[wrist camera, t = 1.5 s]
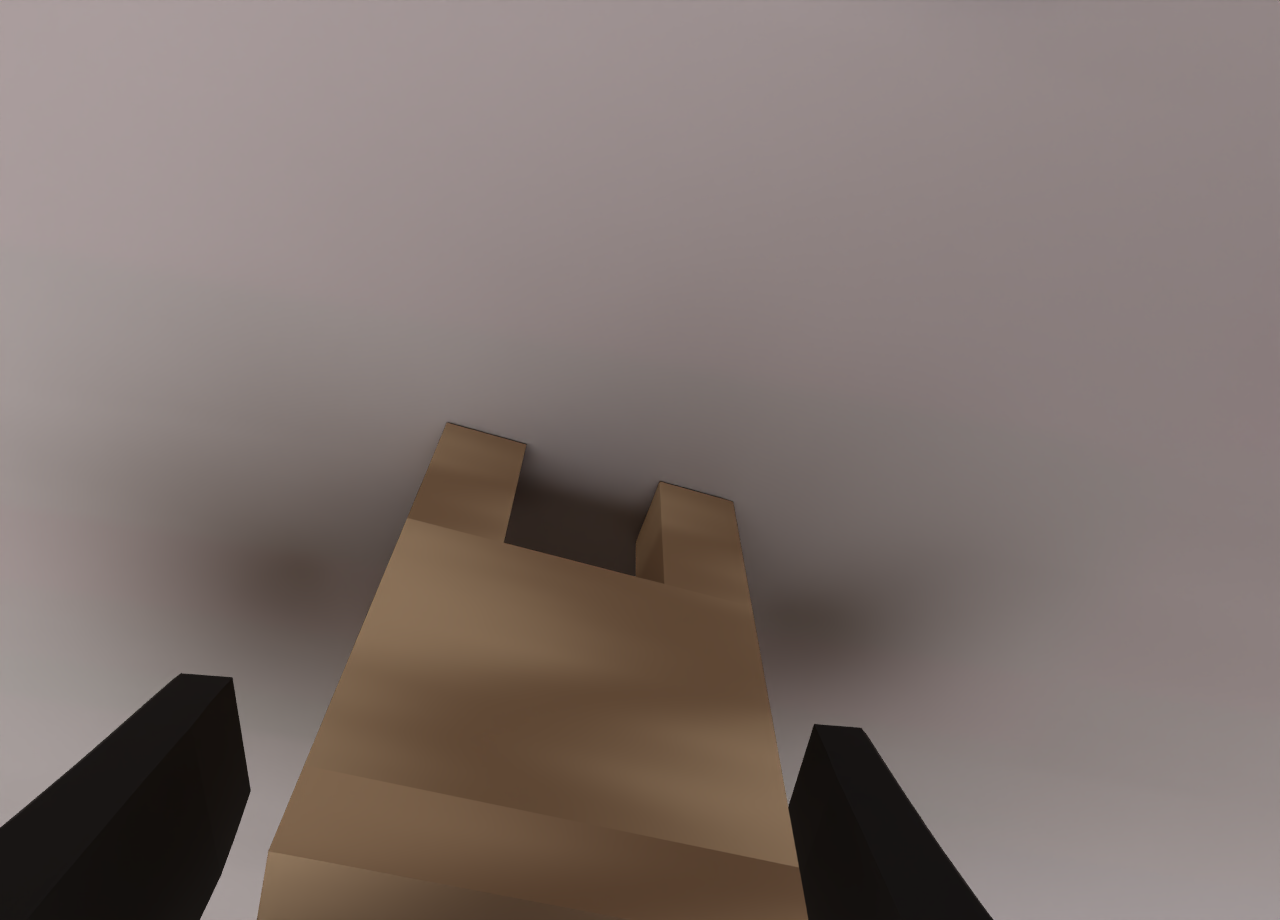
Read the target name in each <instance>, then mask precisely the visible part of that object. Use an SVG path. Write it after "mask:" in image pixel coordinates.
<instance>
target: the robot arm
mask: <svg viewBox="0 0 1280 920" xmlns="http://www.w3.org/2000/svg"><path fill="white" fill-rule="evenodd" d="M250 791H251V790H250V783H249V777H248V771H247V765H246V759H245V752H244V746H243V740H242V734H241V728H240V721H239V715H238V709H237V703H236V697H235V690H234V684H233V678H232V677H220V676H207V675H195V674H182V673H181V674H180V675H178V676H177V677H176V678H174V679H173V680H172V681H171V682H169V683H168V684H167V685H166V686H165V687H164V688H163V689H161V690H160V691H159V692H158V693H157V694H156V695H154V696H153V697H152V698H151V699H150V700H149V701H148V702H146V703H145V704H144V705H143V706H142V707H141V708H140V709H138V710H137V711H136V712H135V713H134V714H133V715H132V716H131V717H129V718H128V719H127V720H126V721H125V722H124V723H123V724H121V725H120V726H119V727H118V728H117V729H116V730H115V731H114V732H112V733H111V734H110V735H109V736H108V737H107V738H106V739H104V740H103V741H102V742H101V743H100V744H99V745H97V746H96V747H95V748H94V749H93V750H92V751H91V752H89V753H88V754H87V755H86V756H85V757H84V758H83V759H81V760H80V761H79V762H78V763H77V764H76V765H74V766H73V767H72V768H71V769H70V770H69V771H67V772H66V773H65V774H64V775H63V776H61V777H60V778H59V779H58V780H57V781H55V782H54V783H53V784H52V785H51V786H50V787H48V788H47V789H46V790H45V791H44V792H42V793H41V794H40V795H39V796H38V797H36V798H35V799H34V800H33V801H32V802H30V803H29V804H28V805H27V806H26V807H25V808H23V809H22V810H21V811H20V812H19V813H17V814H16V815H15V816H14V817H13V818H11V819H10V820H9V821H8V822H7V823H5V824H4V825H3V826H2V827H0V920H200V918H201V916H202V914H203V912H204V910H205V908H206V906H207V904H208V902H209V899H210V897H211V895H212V893H213V891H214V889H215V887H216V885H217V882H218V880H219V878H220V876H221V874H222V871H223V868H224V865H225V863H226V860H227V857H228V855H229V852H230V849H231V846H232V844H233V841H234V838H235V835H236V832H237V830H238V827H239V824H240V821H241V818H242V815H243V812H244V809H245V806H246V803H247V800H248V797H249V794H250ZM788 809H789V815H790V820H791V826H792V832H793V837H794V843H795V848H796V854H797V859H798V865H799V870H800V876H801V881H802V887H803V892H804V898H805V904H806V909H807V915H808V920H993V919H992V917H991V916H990V915H989V913H988V912H987V911H986V909H985V908H984V907H983V905H982V904H981V903H980V901H979V900H978V899H977V897H976V896H975V894H974V893H973V892H972V890H971V889H970V887H969V886H968V885H967V883H966V882H965V880H964V879H963V878H962V876H961V875H960V873H959V872H958V871H957V869H956V868H955V866H954V865H953V864H952V862H951V861H950V859H949V858H948V857H947V855H946V854H945V852H944V851H943V850H942V848H941V847H940V845H939V844H938V842H937V841H936V839H935V838H934V836H933V835H932V834H931V832H930V831H929V829H928V828H927V826H926V825H925V823H924V822H923V820H922V819H921V817H920V816H919V814H918V813H917V811H916V810H915V808H914V807H913V805H912V804H911V802H910V801H909V799H908V798H907V796H906V795H905V793H904V792H903V790H902V789H901V787H900V786H899V784H898V782H897V781H896V779H895V778H894V776H893V775H892V773H891V772H890V770H889V769H888V767H887V765H886V764H885V762H884V761H883V759H882V758H881V756H880V755H879V753H878V751H877V750H876V748H875V747H874V745H873V744H872V742H871V741H870V739H869V737H868V736H867V735H866V733H865V732H864V731H863V730H862V728H856V727H843V726H831V725H818V724H814V726H813V730H812V733H811V736H810V739H809V742H808V746H807V749H806V752H805V755H804V758H803V762H802V765H801V768H800V771H799V774H798V778H797V781H796V784H795V787H794V790H793V794H792V797H791V800H790V803H789V807H788Z"/></svg>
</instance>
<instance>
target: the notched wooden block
mask: <svg viewBox="0 0 1280 920" xmlns="http://www.w3.org/2000/svg"><path fill="white" fill-rule="evenodd" d="M525 448H526V444H522V443H519V442H515V441H512V440H508V439H504V438H501V437H497V436H494V435H490V434H486V433H483V432H479V431H475V430H472V429H468V428H465V427H461V426H457V425H454V424H450V423H447V424H446V426H445V428H444V431H443V433H442V436H441V438H440V440H439V443H438V445H437V448H436V450H435V452H434V455H433V457H432V460H431V462H430V464H429V467H428V469H427V472H426V474H425V476H424V479H423V481H422V484H421V486H420V488H419V491H418V493H417V496H416V498H415V500H414V503H413V505H412V508H411V510H410V512H409V515H408V517H407V520H406V522H405V524H404V527H403V529H402V532H401V534H400V536H399V539H398V541H397V544H396V546H395V548H394V551H393V553H392V556H391V558H390V560H389V563H388V565H387V568H386V570H385V572H384V575H383V577H382V580H381V582H380V584H379V587H378V589H377V592H376V594H375V596H374V599H373V601H372V604H371V606H370V608H369V611H368V613H367V616H366V618H365V620H364V623H363V625H362V628H361V630H360V633H359V635H358V637H357V640H356V642H355V645H354V647H353V649H352V652H351V654H350V657H349V659H348V661H347V664H346V666H345V669H344V671H343V673H342V676H341V678H340V681H339V683H338V685H337V688H336V690H335V693H334V695H333V697H332V700H331V702H330V705H329V707H328V709H327V712H326V714H325V717H324V719H323V721H322V724H321V726H320V729H319V731H318V733H317V736H316V738H315V741H314V743H313V745H312V748H311V750H310V753H309V755H308V757H307V760H306V762H305V765H304V767H303V769H302V772H301V774H300V777H299V779H298V781H297V784H296V786H295V789H294V791H293V793H292V796H291V798H290V801H289V803H288V805H287V808H286V810H285V813H284V815H283V817H282V820H281V822H280V825H279V827H278V829H277V832H276V834H275V837H274V839H273V841H272V844H271V846H270V849H269V851H268V857H267V863H266V869H265V875H264V881H263V887H262V892H261V898H260V904H259V910H258V916H257V920H808V915H807V909H806V904H805V898H804V892H803V887H802V881H801V876H800V870H799V865H798V859H797V854H796V848H795V843H794V837H793V832H792V826H791V820H790V815H789V809H788V804H787V798H786V793H785V787H784V782H783V776H782V771H781V765H780V759H779V754H778V748H777V743H776V737H775V732H774V726H773V721H772V715H771V710H770V704H769V698H768V693H767V687H766V682H765V676H764V671H763V665H762V660H761V654H760V649H759V643H758V638H757V632H756V626H755V621H754V615H753V610H752V604H751V599H750V593H749V588H748V582H747V577H746V571H745V566H744V560H743V554H742V549H741V543H740V538H739V532H738V527H737V521H736V516H735V510H734V505H733V502H732V501H729V500H725V499H721V498H718V497H714V496H710V495H707V494H703V493H700V492H696V491H692V490H689V489H685V488H682V487H678V486H674V485H671V484H667V483H663V482H659V485H658V487H657V490H656V492H655V495H654V497H653V500H652V502H651V505H650V507H649V510H648V513H647V515H646V518H645V520H644V523H643V525H642V528H641V530H640V533H639V535H638V538H637V540H636V577H635V576H631V575H628V574H624V573H620V572H616V571H612V570H608V569H604V568H600V567H596V566H592V565H589V564H585V563H581V562H577V561H573V560H569V559H565V558H561V557H557V556H554V555H550V554H546V553H542V552H538V551H534V550H530V549H526V548H522V547H518V546H515V545H511V544H507V543H504V539H505V535H506V531H507V526H508V522H509V518H510V513H511V509H512V505H513V500H514V496H515V492H516V487H517V483H518V479H519V474H520V470H521V466H522V461H523V457H524V453H525Z"/></svg>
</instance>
